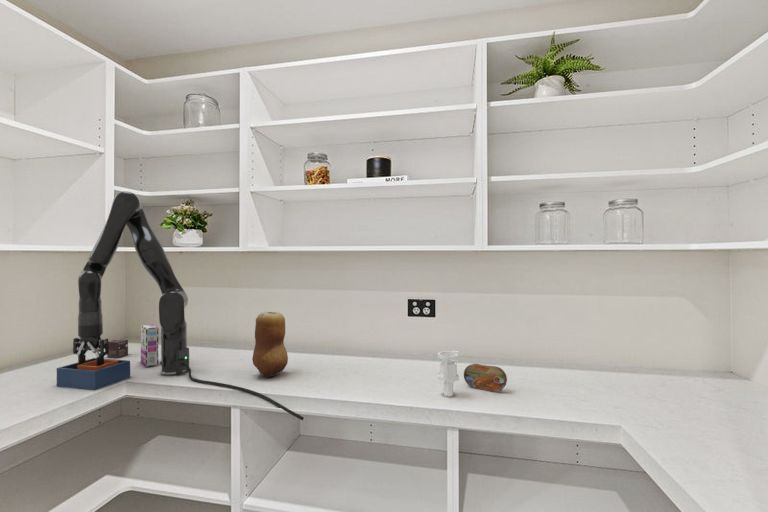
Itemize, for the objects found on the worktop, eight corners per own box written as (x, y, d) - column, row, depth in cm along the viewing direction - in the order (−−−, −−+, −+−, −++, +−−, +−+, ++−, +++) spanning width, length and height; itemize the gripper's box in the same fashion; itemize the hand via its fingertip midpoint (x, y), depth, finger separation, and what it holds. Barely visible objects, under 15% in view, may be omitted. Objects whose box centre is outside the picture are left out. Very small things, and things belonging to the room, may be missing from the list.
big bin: (130, 377, 156) (130, 360, 156) (95, 390, 142) (94, 371, 142) (94, 374, 161) (94, 357, 160) (56, 386, 146) (56, 368, 146)
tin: (463, 386, 144) (463, 362, 144) (466, 383, 147) (466, 360, 147) (505, 394, 136) (505, 369, 136) (508, 391, 139) (508, 367, 139)
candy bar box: (159, 365, 173) (158, 327, 173) (146, 367, 170) (145, 328, 169) (153, 360, 181) (152, 323, 181) (140, 362, 178) (140, 325, 178)
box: (117, 358, 185) (117, 342, 185) (106, 357, 186) (106, 341, 186) (128, 355, 191) (128, 339, 191) (117, 354, 192) (117, 339, 192)
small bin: (118, 377, 155) (118, 360, 155) (96, 384, 146) (96, 366, 146) (100, 375, 157) (100, 358, 157) (77, 382, 148) (77, 365, 148)
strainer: (456, 399, 131) (456, 353, 131) (435, 396, 134) (435, 351, 134) (461, 392, 138) (460, 349, 137) (441, 390, 140) (440, 347, 140)
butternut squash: (294, 375, 158) (294, 311, 158) (263, 383, 148) (262, 315, 148) (275, 368, 167) (275, 308, 167) (245, 375, 158) (244, 312, 158)
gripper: (114, 322, 153) (115, 364, 154) (85, 320, 157) (85, 362, 157) (96, 325, 146) (96, 370, 146) (65, 324, 150) (66, 367, 150)
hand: (91, 365), depth 152 cm, fingers open, 8 cm apart
